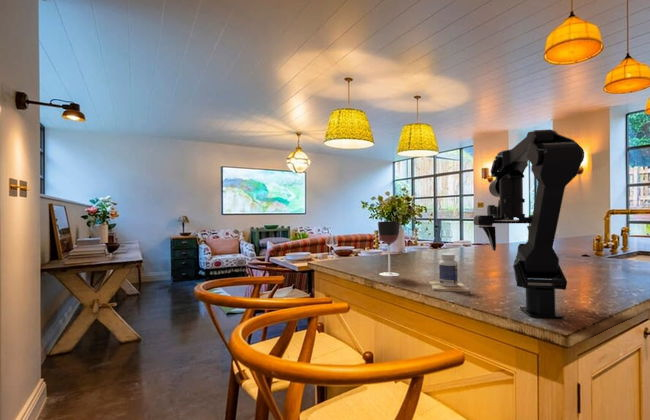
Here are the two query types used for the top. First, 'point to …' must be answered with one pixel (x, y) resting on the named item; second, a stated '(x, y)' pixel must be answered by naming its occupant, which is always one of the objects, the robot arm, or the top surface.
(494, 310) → the top surface
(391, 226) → the wineglass
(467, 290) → the coaster
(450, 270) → the pill bottle
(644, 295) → the top surface
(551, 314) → the robot arm
